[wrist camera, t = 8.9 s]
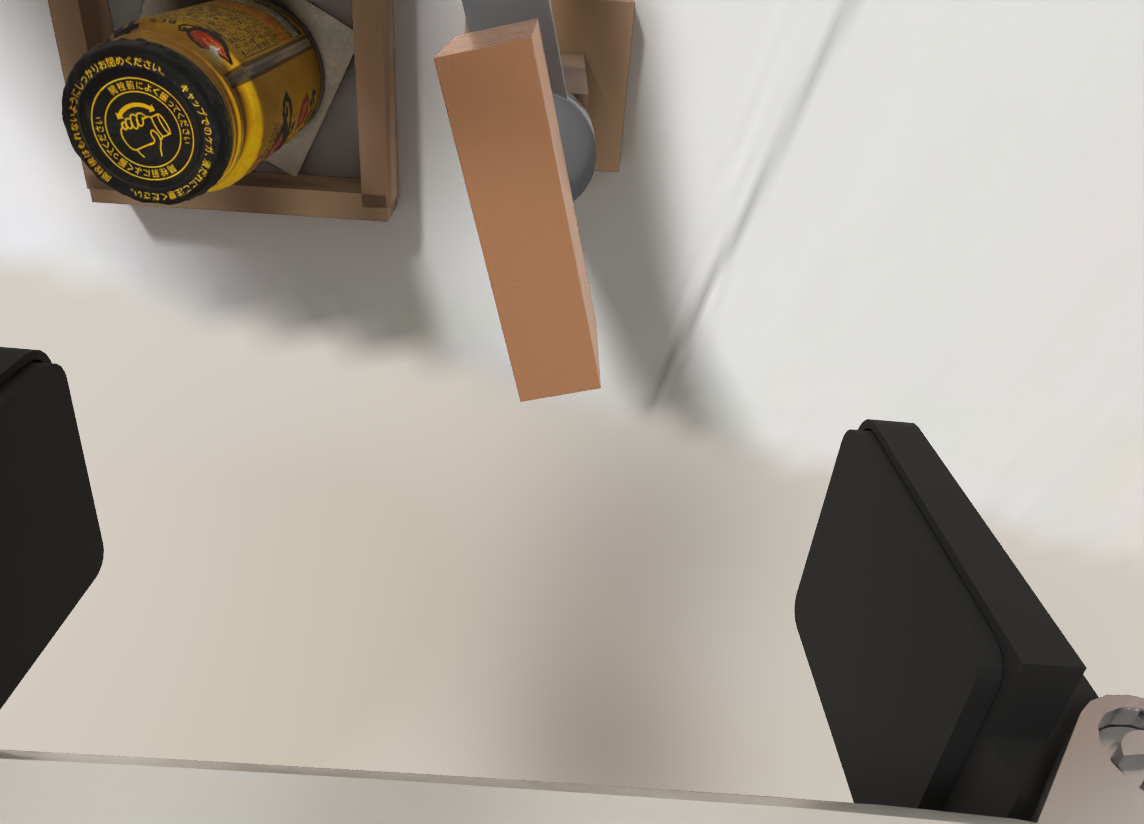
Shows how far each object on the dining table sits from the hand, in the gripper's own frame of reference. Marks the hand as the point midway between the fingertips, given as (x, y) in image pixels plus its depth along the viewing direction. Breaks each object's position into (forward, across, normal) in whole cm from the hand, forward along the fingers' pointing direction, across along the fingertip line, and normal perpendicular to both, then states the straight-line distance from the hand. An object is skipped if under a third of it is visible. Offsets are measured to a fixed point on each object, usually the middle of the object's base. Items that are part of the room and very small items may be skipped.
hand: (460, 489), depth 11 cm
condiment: (+32, +13, 0) cm, 35 cm away
